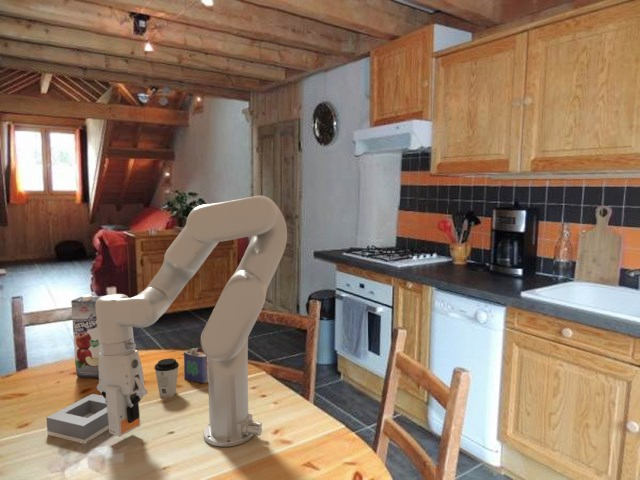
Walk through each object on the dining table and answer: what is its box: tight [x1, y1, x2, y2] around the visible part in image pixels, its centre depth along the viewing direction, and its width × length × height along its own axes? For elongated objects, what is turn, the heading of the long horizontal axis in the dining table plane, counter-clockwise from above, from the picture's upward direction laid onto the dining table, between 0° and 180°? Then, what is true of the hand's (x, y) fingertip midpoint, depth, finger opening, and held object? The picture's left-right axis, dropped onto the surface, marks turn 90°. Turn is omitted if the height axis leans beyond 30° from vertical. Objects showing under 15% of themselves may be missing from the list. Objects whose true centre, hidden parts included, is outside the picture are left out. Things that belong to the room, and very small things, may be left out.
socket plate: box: [45, 393, 109, 444], centre depth 117 cm, size 12×14×4 cm
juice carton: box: [70, 293, 103, 379], centre depth 149 cm, size 9×10×27 cm
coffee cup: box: [153, 357, 180, 398], centre depth 135 cm, size 7×7×10 cm
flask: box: [183, 347, 208, 385], centre depth 145 cm, size 9×3×11 cm, turn 61°
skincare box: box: [105, 386, 141, 437], centre depth 111 cm, size 6×4×12 cm
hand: (124, 417), depth 111 cm, fingers closed on skincare box, 4 cm apart
